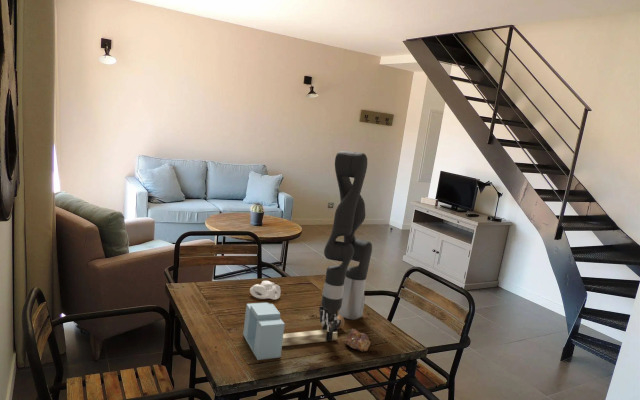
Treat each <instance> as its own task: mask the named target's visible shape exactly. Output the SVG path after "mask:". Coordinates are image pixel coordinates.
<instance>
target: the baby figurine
mask: <svg viewBox="0 0 640 400" xmlns="http://www.w3.org/2000/svg"><path fill="white" fill-rule="evenodd" d="M249 292H250V294H251V295H252V296H253V297H254V298H256V299H258V300H259V299H260V300H266V299H269V300H270V299H271V301H272V300H273V301H274V300H278V299H279V298H280V297H281V293H282V292H281V286H280V285H278V284H275V282H272V281H269V280H262V281H261V283H260V284H259V283H257V284H254V285H252V286H251V287H250V289H249Z"/></svg>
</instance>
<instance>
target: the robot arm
mask: <svg viewBox="0 0 640 400" xmlns="http://www.w3.org/2000/svg"><path fill="white" fill-rule="evenodd" d="M367 169H368V157H367V154H365V153H364V152H358V151H349V150H340V151H338V152H337V153H336V154H335V158H334V172H335V176H336V180H337V181H336V182H337V184H338V185H337V186H338V191H339V197H340V198H339V199H340V200H339V201H340V202H339V204H338V205H337V207H336V209H335V212H334V219H333V225H332V230H331V233H330V235H329V238H328V240H327V242H326V245H325V247H324V250H323V253H324V257H325V258H326V259H327V260H330V261H335V262H341V263H340V264H334V265H329V266H328V267H326V271H325V272H326V273H325V278H324V279H325V280H324V285H323V287H322V295H321V302H320V305H321V306H319V307H318V308H319V309H318V311H319V322H320V323H321V327H322V329H321V330H327V334H326V340H327V341H326V342H329V341H330V342H331V341H333V340H332V336H333V332H338V331H339V329H340V328H339V326H340V324H341V320H338V318H337V317H338V315H341V316H342V317H343V318H344V319H347V320H358V319H360V318H362V317H363V313H364V307H365V302H366V295H365V289H366V282H367V277H368V272H369V268H370V267H369V266H370V261H371V257H372V252H373V244H372V242H371V241H368V240H365V239H361V238H357V237H356V236H355V232H356V231H357V230H358V229H359V228H360V227H361V225H362V224H363V223H364V221H365V220H366V204H365V200H364V198H363V197H362V195H361V192H362V188H363V186H364V185H363V184H364V181H365V177H366V174H367ZM350 178H351V179H353V182H352V180H351V179H350ZM342 236H343V241H340V240H339V241H338V240H337V238H338V237H342ZM351 261H354V262H358V263H359V264H358V265H355V266H354V265H353V266H349V265H350V263H351ZM329 322H331V323H329ZM331 325H332V326H331ZM330 326H331V328H330ZM338 328H339V329H338Z"/></svg>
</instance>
